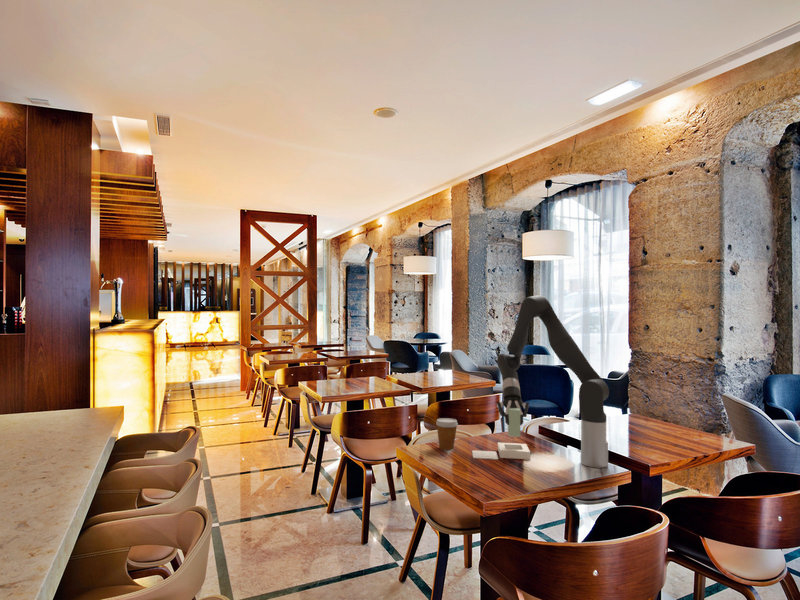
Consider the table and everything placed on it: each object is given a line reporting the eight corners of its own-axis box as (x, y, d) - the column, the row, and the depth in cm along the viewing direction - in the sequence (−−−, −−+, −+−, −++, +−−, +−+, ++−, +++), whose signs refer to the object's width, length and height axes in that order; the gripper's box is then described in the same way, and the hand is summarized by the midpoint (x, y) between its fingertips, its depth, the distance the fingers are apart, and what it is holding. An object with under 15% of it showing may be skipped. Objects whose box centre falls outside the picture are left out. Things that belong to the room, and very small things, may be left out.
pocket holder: (525, 450, 200) (526, 443, 200) (530, 459, 188) (530, 451, 188) (497, 449, 201) (497, 442, 201) (500, 457, 189) (500, 450, 189)
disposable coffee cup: (447, 452, 195) (447, 423, 196) (431, 447, 202) (431, 419, 203) (462, 448, 202) (462, 420, 202) (445, 443, 209) (446, 416, 209)
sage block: (518, 434, 197) (518, 408, 197) (520, 437, 192) (520, 410, 193) (507, 433, 197) (507, 407, 198) (509, 436, 193) (508, 409, 193)
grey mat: (496, 452, 196) (496, 451, 196) (498, 459, 186) (498, 458, 186) (472, 451, 198) (472, 450, 198) (473, 458, 188) (473, 457, 188)
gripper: (495, 385, 204) (497, 418, 191) (528, 385, 202) (533, 419, 190) (494, 395, 209) (496, 428, 196) (527, 396, 207) (531, 429, 195)
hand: (514, 424), depth 193 cm, fingers closed on sage block, 4 cm apart
